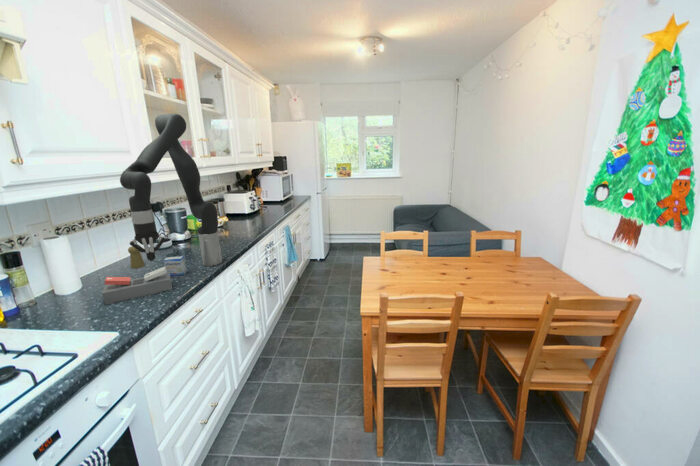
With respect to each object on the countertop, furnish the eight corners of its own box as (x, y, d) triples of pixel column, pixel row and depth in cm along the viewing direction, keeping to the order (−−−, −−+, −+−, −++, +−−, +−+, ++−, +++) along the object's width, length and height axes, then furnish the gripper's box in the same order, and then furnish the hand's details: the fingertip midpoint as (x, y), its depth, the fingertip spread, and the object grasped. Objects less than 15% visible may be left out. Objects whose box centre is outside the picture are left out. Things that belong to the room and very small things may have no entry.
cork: (137, 268, 150) (133, 248, 147) (128, 268, 152) (123, 248, 148) (147, 264, 156) (143, 245, 153) (138, 263, 157) (134, 244, 154)
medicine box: (166, 276, 141) (163, 260, 138) (169, 273, 145) (166, 256, 142) (184, 274, 143) (181, 258, 140) (186, 271, 147) (184, 255, 144)
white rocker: (166, 269, 130) (164, 266, 130) (166, 272, 127) (164, 269, 126) (146, 277, 127) (144, 274, 126) (146, 281, 123) (144, 278, 123)
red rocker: (130, 280, 124) (130, 277, 124) (129, 284, 120) (130, 280, 120) (106, 280, 119) (106, 276, 119) (104, 284, 116) (104, 280, 116)
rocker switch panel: (171, 282, 135) (169, 270, 133) (172, 289, 127) (169, 277, 126) (108, 295, 123) (105, 282, 121) (105, 304, 116) (101, 290, 114)
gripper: (162, 217, 126) (169, 254, 131) (125, 221, 120) (133, 260, 124) (162, 220, 120) (170, 259, 125) (122, 225, 114) (132, 266, 118)
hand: (151, 260), depth 125 cm, fingers closed
